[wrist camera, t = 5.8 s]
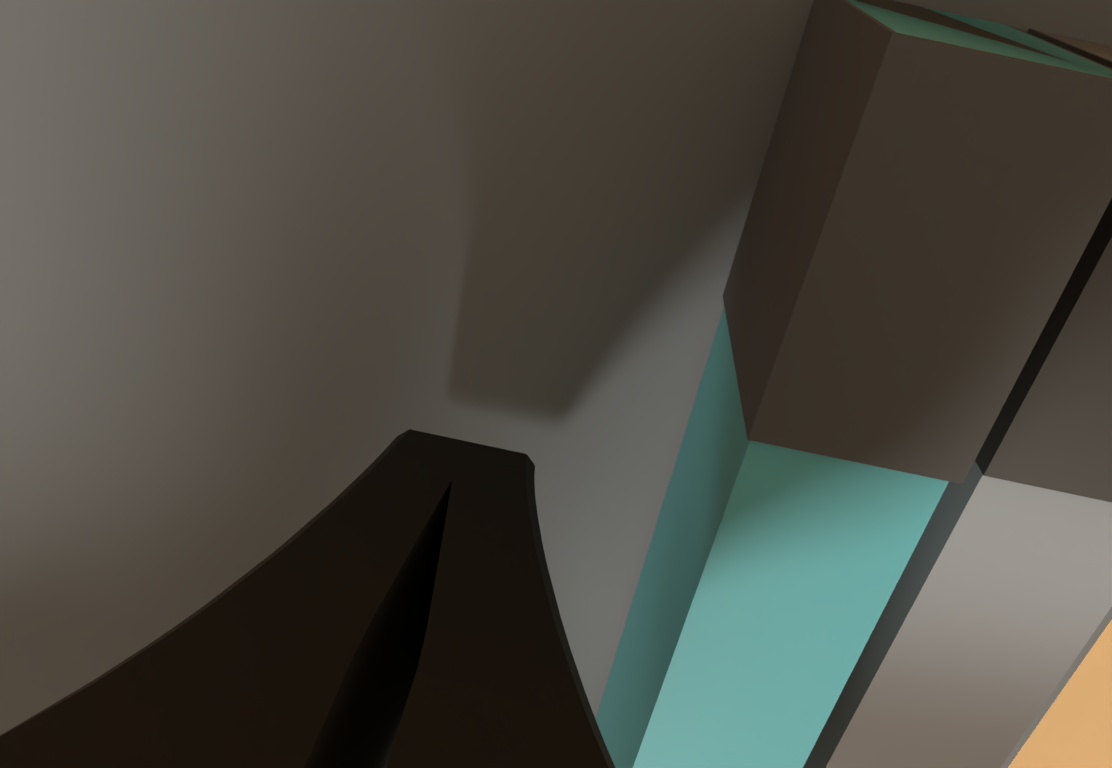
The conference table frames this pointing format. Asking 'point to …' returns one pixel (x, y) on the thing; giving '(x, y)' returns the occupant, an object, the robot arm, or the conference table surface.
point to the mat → (361, 280)
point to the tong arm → (853, 366)
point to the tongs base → (1000, 556)
